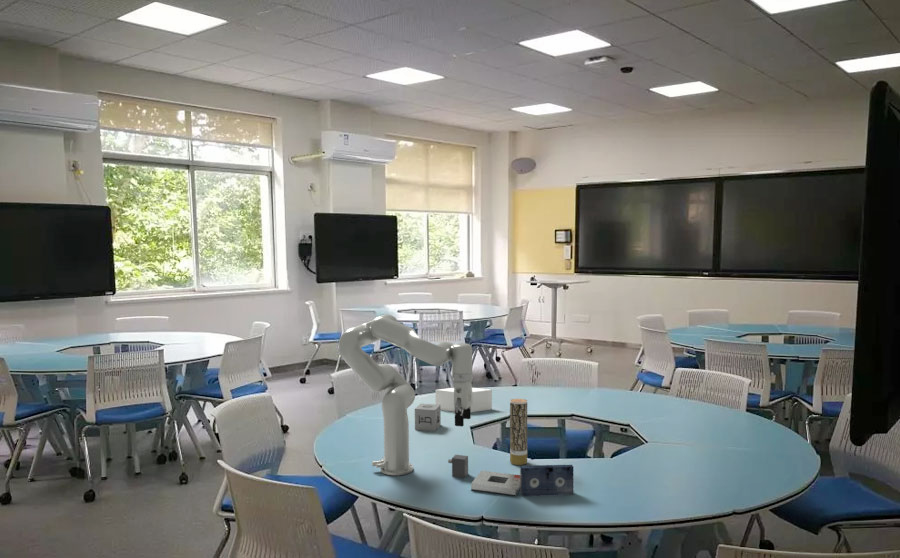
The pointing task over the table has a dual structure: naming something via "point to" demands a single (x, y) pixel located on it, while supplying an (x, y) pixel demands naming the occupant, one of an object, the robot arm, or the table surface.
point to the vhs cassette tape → (546, 480)
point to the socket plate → (496, 483)
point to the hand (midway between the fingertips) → (462, 422)
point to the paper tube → (518, 431)
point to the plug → (459, 466)
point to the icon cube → (427, 417)
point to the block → (480, 403)
